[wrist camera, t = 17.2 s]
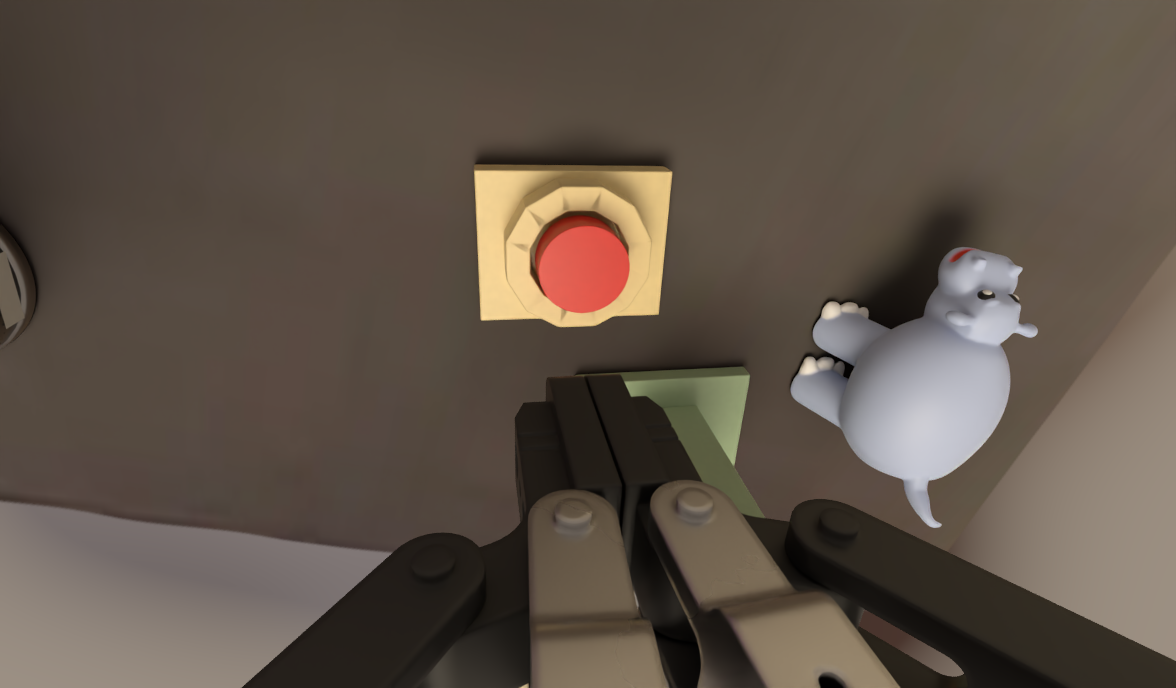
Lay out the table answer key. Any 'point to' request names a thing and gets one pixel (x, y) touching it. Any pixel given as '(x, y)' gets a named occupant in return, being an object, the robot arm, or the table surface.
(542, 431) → the robot arm
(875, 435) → the hippopotamus toy
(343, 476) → the table surface
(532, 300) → the button box
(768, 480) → the table surface
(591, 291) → the button
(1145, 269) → the table surface
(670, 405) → the bracket
